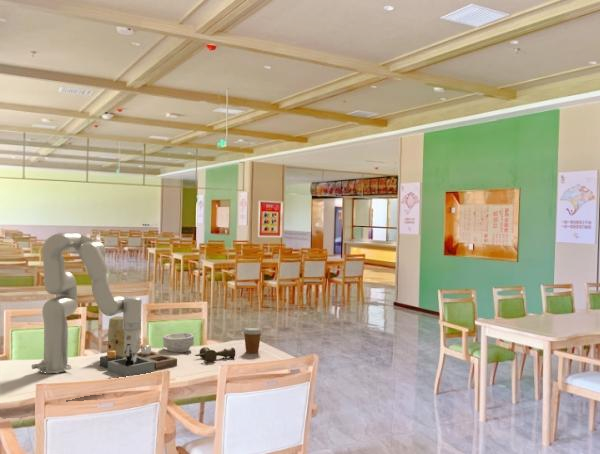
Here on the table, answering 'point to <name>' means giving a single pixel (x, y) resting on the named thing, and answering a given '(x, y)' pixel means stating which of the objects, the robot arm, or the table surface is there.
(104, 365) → the button housing
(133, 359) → the cylinder
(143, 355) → the cylinder
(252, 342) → the disposable coffee cup
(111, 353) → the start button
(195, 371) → the table surface
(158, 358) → the brown compartment tray
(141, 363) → the tray
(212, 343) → the table surface
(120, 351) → the food model
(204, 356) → the kendama
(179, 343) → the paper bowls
